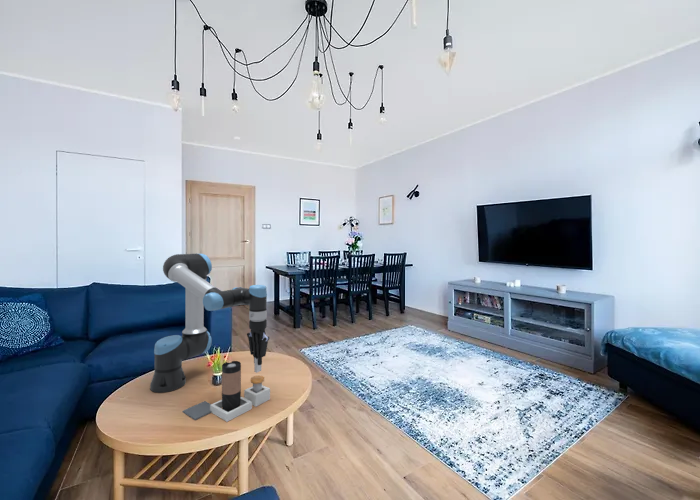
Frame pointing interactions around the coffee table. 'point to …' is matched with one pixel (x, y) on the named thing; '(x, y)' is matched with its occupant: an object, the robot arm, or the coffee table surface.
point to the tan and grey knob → (257, 383)
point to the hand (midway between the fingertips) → (257, 371)
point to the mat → (198, 410)
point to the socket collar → (228, 416)
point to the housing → (257, 395)
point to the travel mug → (231, 385)
